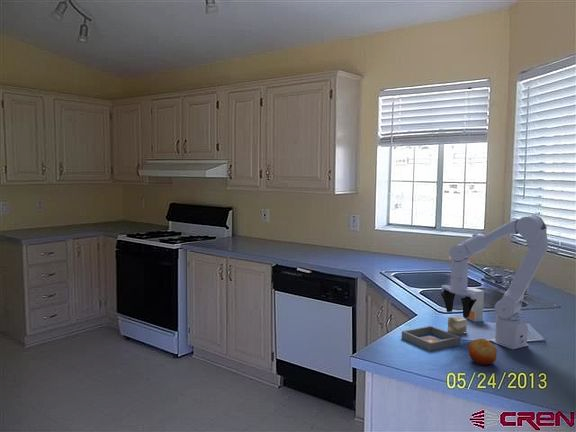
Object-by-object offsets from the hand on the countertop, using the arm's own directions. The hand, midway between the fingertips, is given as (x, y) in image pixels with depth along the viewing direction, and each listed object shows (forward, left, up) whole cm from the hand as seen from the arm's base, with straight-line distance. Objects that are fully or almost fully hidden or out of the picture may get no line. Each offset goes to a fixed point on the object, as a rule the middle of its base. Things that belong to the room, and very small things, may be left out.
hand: (457, 314), depth 174 cm
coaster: (-3, +16, -7) cm, 18 cm away
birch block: (0, 0, -7) cm, 7 cm away
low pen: (-3, +16, -7) cm, 18 cm away
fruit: (-24, +16, -7) cm, 30 cm away
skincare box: (+8, -18, -7) cm, 21 cm away
